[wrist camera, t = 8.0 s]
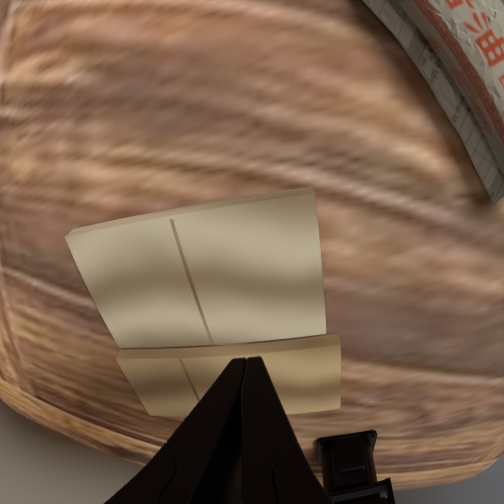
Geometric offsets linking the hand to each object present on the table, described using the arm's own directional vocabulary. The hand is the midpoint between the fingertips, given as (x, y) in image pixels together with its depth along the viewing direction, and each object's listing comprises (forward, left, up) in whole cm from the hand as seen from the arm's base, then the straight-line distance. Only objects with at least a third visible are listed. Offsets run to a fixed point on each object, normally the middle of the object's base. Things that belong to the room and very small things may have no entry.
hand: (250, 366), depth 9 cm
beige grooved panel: (-3, +5, -12) cm, 13 cm away
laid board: (-14, +5, -12) cm, 19 cm away
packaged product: (+10, -15, -13) cm, 22 cm away
